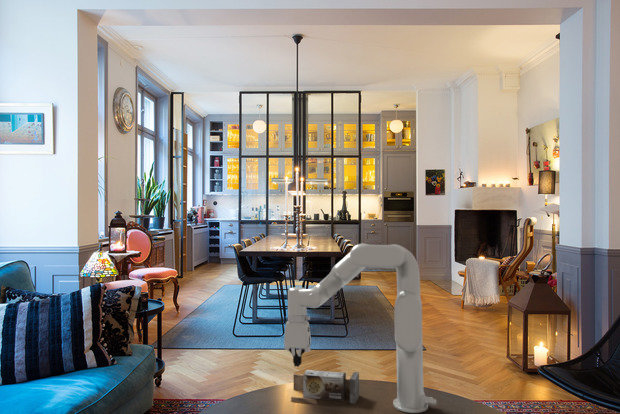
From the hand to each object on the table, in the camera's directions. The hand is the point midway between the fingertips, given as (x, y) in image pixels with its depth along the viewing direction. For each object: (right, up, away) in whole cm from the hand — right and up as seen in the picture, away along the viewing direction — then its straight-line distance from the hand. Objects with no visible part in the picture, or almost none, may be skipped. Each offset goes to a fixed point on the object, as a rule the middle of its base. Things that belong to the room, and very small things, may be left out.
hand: (297, 365), depth 166 cm
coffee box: (+3, -7, 0) cm, 8 cm away
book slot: (+10, -11, -3) cm, 15 cm away
